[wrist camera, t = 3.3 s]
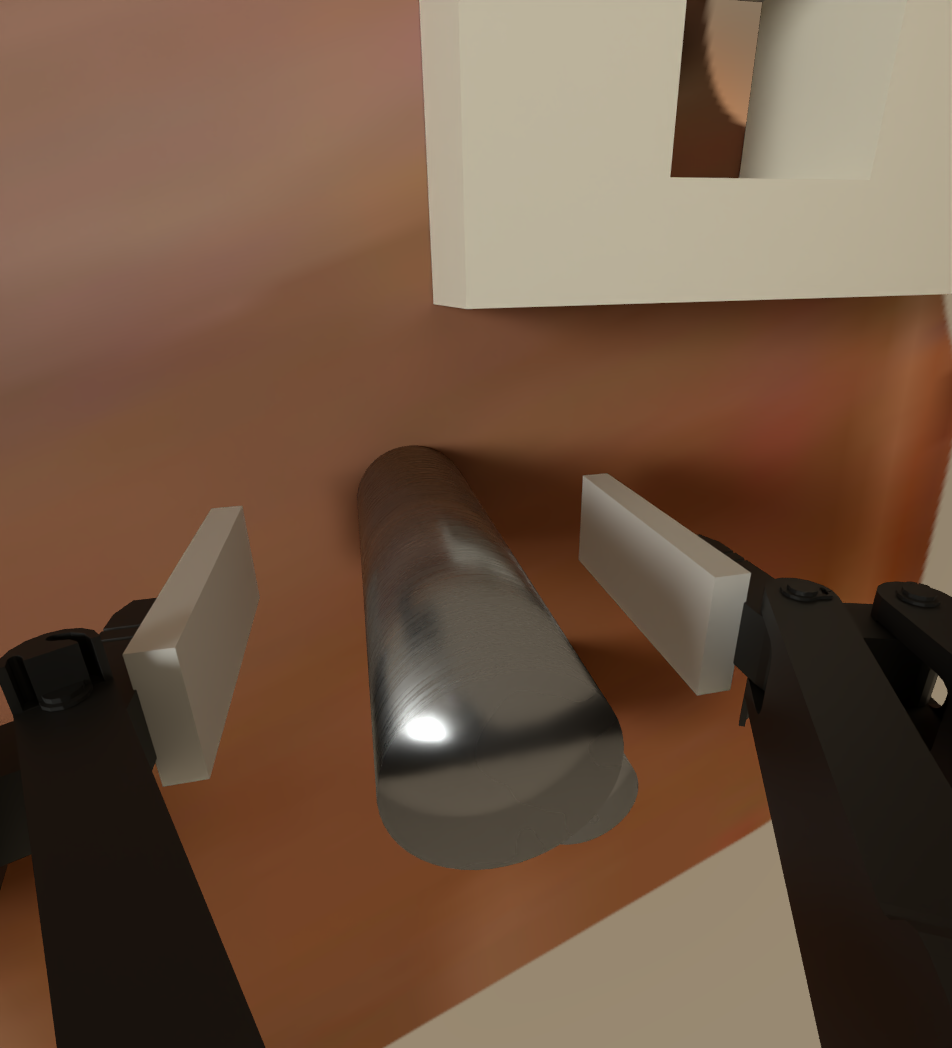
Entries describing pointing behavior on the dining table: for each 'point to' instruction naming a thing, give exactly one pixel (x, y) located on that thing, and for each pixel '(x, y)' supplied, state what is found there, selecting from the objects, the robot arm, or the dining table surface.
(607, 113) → the hole block
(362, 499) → the long pin
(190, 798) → the dining table surface
